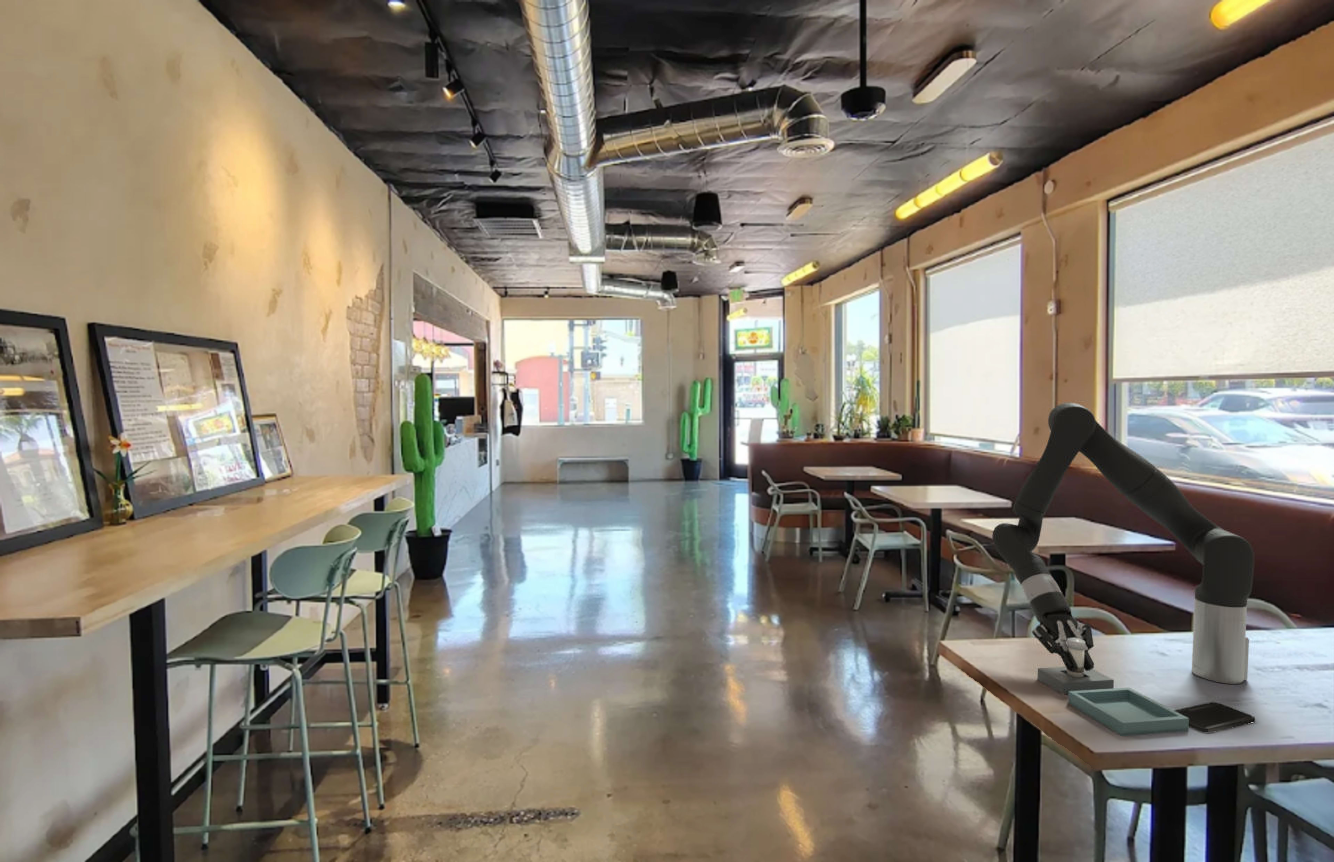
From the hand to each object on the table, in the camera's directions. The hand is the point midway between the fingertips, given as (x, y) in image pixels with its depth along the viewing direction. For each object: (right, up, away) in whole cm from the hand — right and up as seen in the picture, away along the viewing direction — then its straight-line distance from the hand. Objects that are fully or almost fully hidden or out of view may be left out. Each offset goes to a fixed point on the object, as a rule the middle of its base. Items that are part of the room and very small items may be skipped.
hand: (1082, 669), depth 148 cm
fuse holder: (0, -4, +2) cm, 5 cm away
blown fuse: (0, -4, +2) cm, 5 cm away
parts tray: (+1, -5, -13) cm, 14 cm away
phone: (+17, -6, -13) cm, 22 cm away
